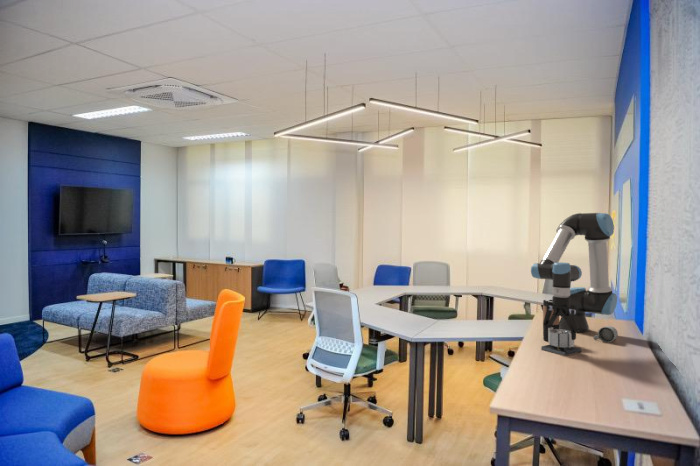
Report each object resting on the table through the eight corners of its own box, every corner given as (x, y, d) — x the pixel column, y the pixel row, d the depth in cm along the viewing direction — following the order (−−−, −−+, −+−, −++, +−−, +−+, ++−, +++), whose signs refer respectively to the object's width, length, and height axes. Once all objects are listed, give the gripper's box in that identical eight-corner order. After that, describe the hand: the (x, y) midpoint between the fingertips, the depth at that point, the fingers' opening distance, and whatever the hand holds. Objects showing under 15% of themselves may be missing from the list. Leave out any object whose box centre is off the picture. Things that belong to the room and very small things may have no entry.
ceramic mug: (618, 340, 235) (618, 325, 235) (614, 343, 228) (614, 328, 228) (595, 337, 242) (595, 322, 242) (591, 340, 236) (590, 325, 235)
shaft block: (556, 345, 225) (557, 326, 225) (580, 351, 215) (580, 331, 215) (541, 349, 219) (541, 329, 218) (565, 355, 208) (565, 334, 208)
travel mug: (557, 343, 230) (557, 302, 230) (540, 340, 235) (541, 301, 234) (560, 339, 236) (561, 300, 236) (545, 337, 241) (545, 299, 240)
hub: (557, 340, 224) (557, 328, 223) (577, 345, 215) (577, 332, 215) (544, 343, 218) (544, 330, 218) (564, 348, 210) (564, 335, 210)
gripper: (535, 293, 224) (534, 339, 224) (579, 300, 205) (579, 350, 205) (544, 292, 228) (544, 337, 228) (589, 298, 209) (589, 348, 209)
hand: (560, 343), depth 217 cm, fingers closed on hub, 10 cm apart
